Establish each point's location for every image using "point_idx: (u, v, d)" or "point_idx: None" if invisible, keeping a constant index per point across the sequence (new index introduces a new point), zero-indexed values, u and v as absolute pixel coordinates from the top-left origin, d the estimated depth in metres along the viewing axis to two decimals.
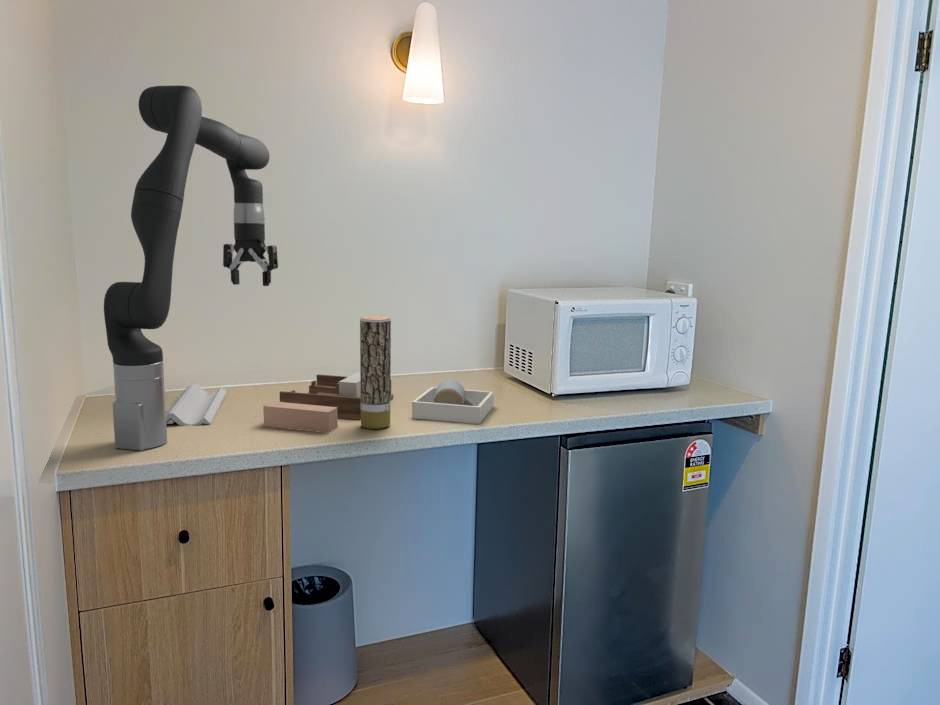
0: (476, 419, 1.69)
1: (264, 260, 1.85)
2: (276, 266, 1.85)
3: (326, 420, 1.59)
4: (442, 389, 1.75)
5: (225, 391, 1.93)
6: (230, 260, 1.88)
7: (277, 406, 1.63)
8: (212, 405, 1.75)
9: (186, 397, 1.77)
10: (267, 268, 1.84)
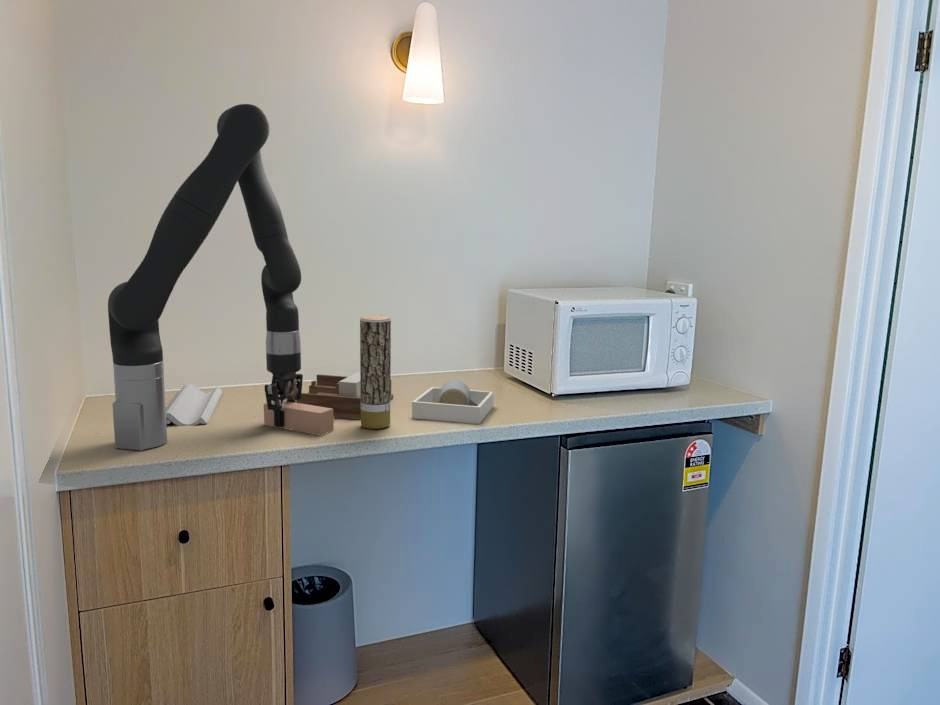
0: (476, 419, 1.69)
1: None
2: None
3: (318, 421, 1.57)
4: (447, 389, 1.74)
5: (221, 391, 1.93)
6: (270, 401, 1.59)
7: None
8: (209, 405, 1.75)
9: (182, 397, 1.77)
10: None
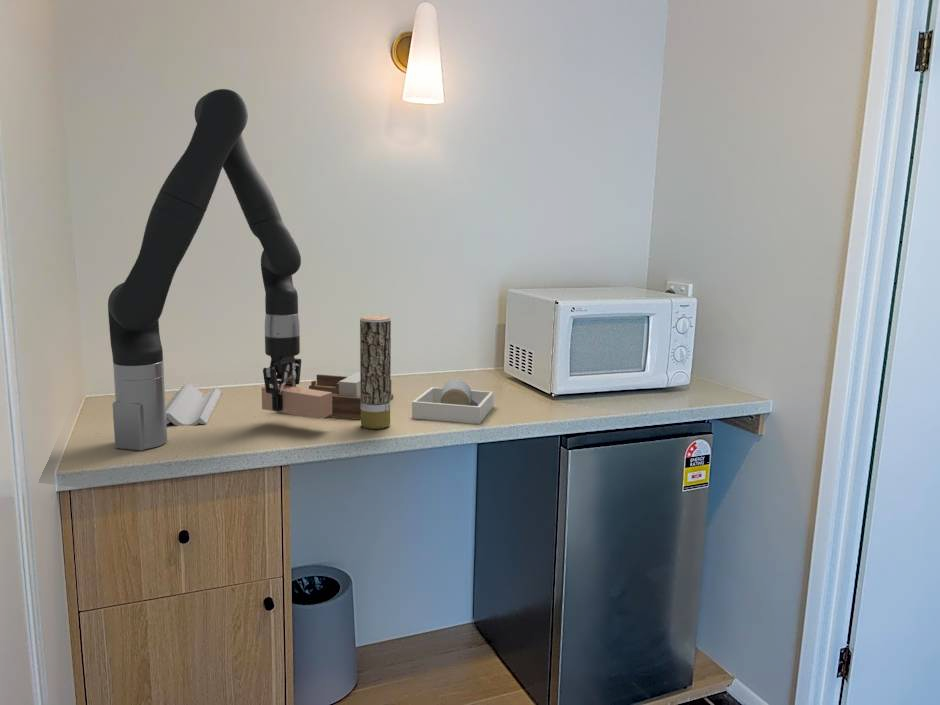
0: (476, 419, 1.69)
1: None
2: None
3: (317, 405, 1.57)
4: (449, 389, 1.74)
5: (220, 391, 1.93)
6: (269, 385, 1.58)
7: None
8: (208, 405, 1.75)
9: (181, 397, 1.77)
10: None
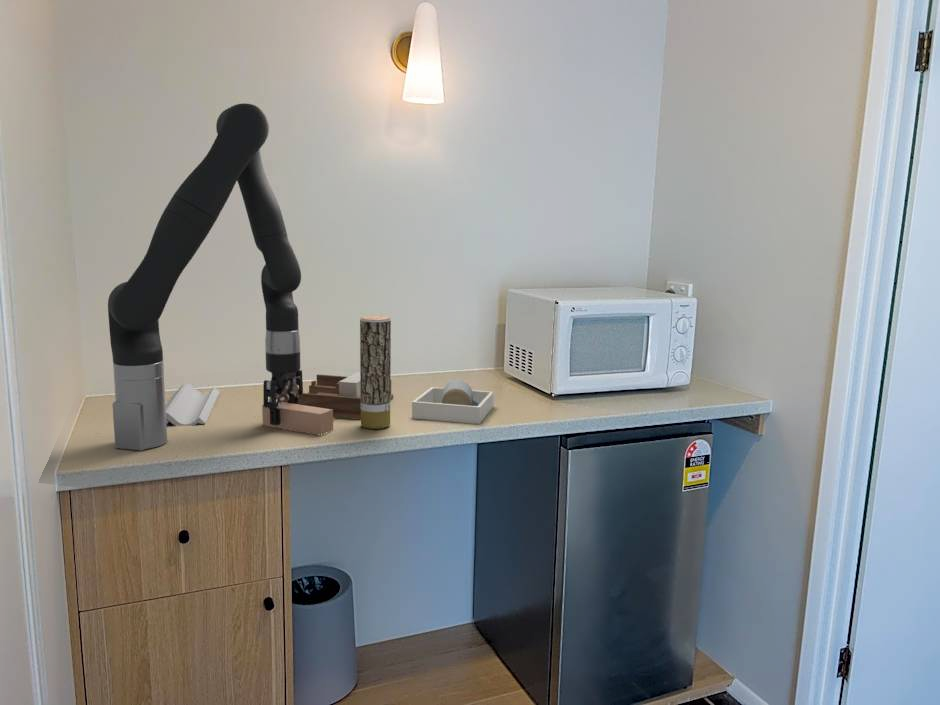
0: (476, 419, 1.69)
1: None
2: None
3: (318, 422, 1.58)
4: (450, 389, 1.74)
5: (218, 391, 1.93)
6: (267, 399, 1.58)
7: None
8: (206, 405, 1.75)
9: (180, 397, 1.77)
10: None
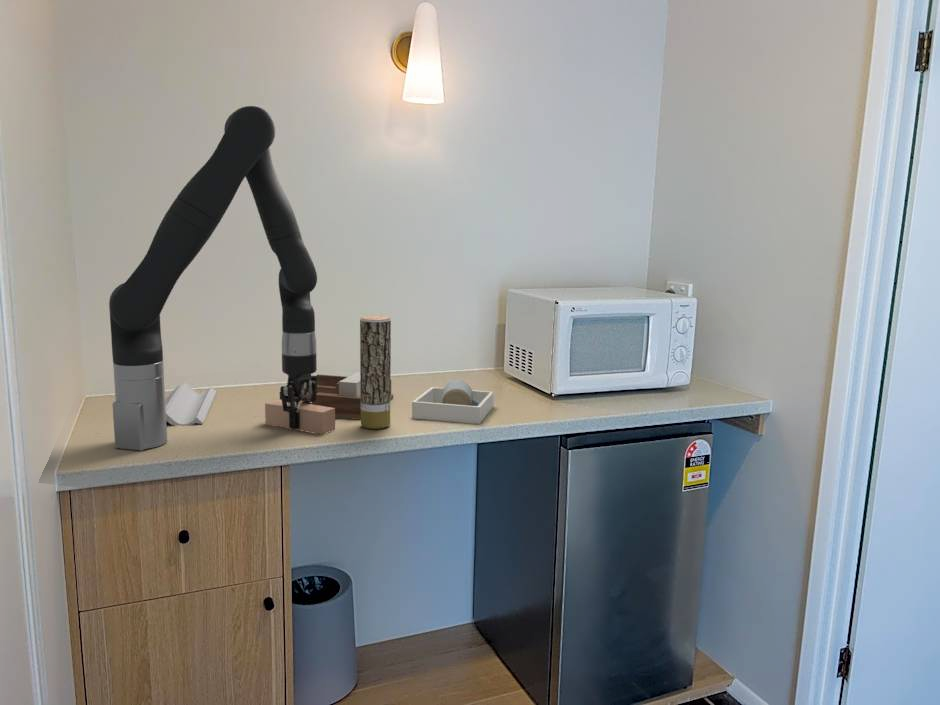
0: (476, 419, 1.69)
1: None
2: None
3: (320, 420, 1.58)
4: (450, 389, 1.74)
5: (215, 391, 1.93)
6: (286, 403, 1.58)
7: (277, 404, 1.63)
8: (203, 405, 1.75)
9: (177, 397, 1.76)
10: None
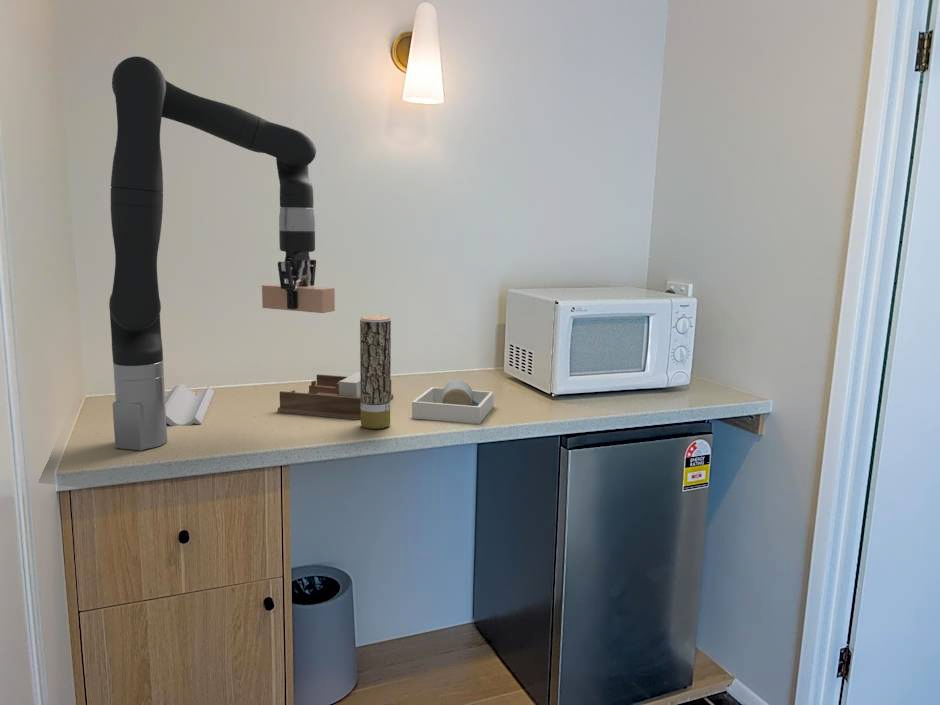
0: (476, 419, 1.69)
1: None
2: None
3: (320, 298, 1.53)
4: (450, 389, 1.74)
5: (212, 391, 1.92)
6: (284, 280, 1.53)
7: (275, 286, 1.59)
8: (201, 405, 1.75)
9: (175, 397, 1.76)
10: None
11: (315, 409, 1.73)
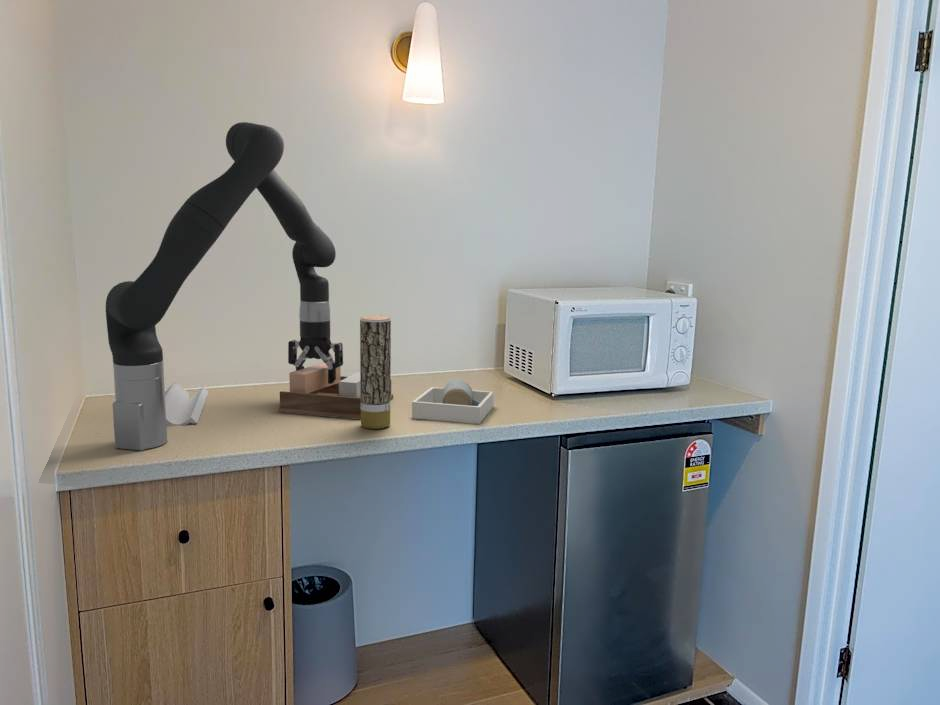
0: (476, 419, 1.69)
1: None
2: None
3: (339, 371, 1.90)
4: (450, 389, 1.75)
5: (207, 391, 1.92)
6: None
7: (309, 371, 1.78)
8: (197, 405, 1.75)
9: (170, 397, 1.76)
10: None
11: (315, 409, 1.73)
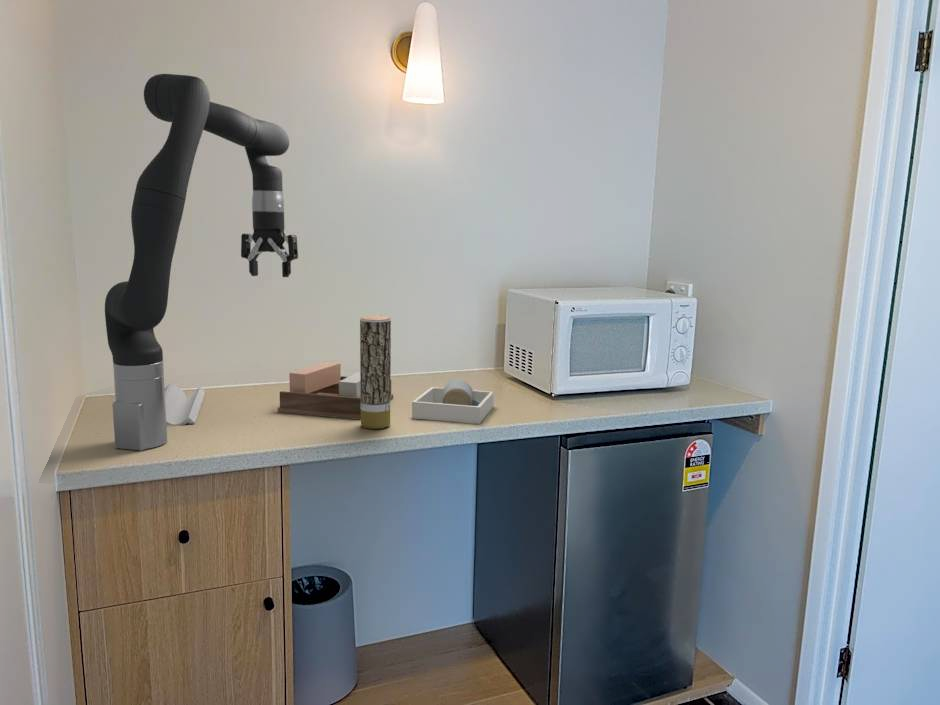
0: (476, 419, 1.69)
1: None
2: None
3: (339, 371, 1.90)
4: (451, 389, 1.75)
5: (204, 391, 1.92)
6: None
7: (309, 371, 1.78)
8: (194, 405, 1.75)
9: (167, 397, 1.76)
10: None
11: (315, 409, 1.73)
